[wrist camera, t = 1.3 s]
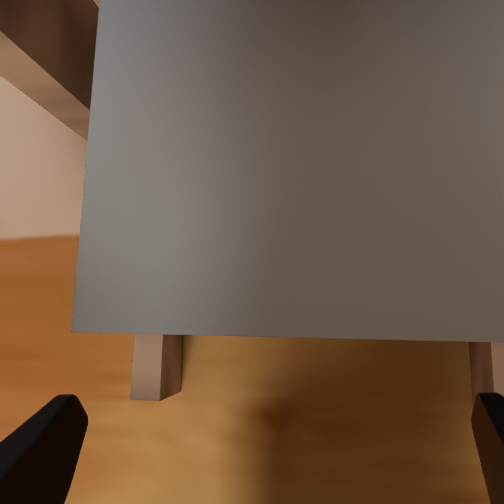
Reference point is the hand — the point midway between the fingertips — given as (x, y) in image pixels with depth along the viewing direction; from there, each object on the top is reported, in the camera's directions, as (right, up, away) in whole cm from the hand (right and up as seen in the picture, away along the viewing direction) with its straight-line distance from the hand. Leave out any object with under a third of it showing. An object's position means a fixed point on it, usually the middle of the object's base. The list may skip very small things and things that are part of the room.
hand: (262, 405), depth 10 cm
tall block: (+3, +4, +14) cm, 15 cm away
